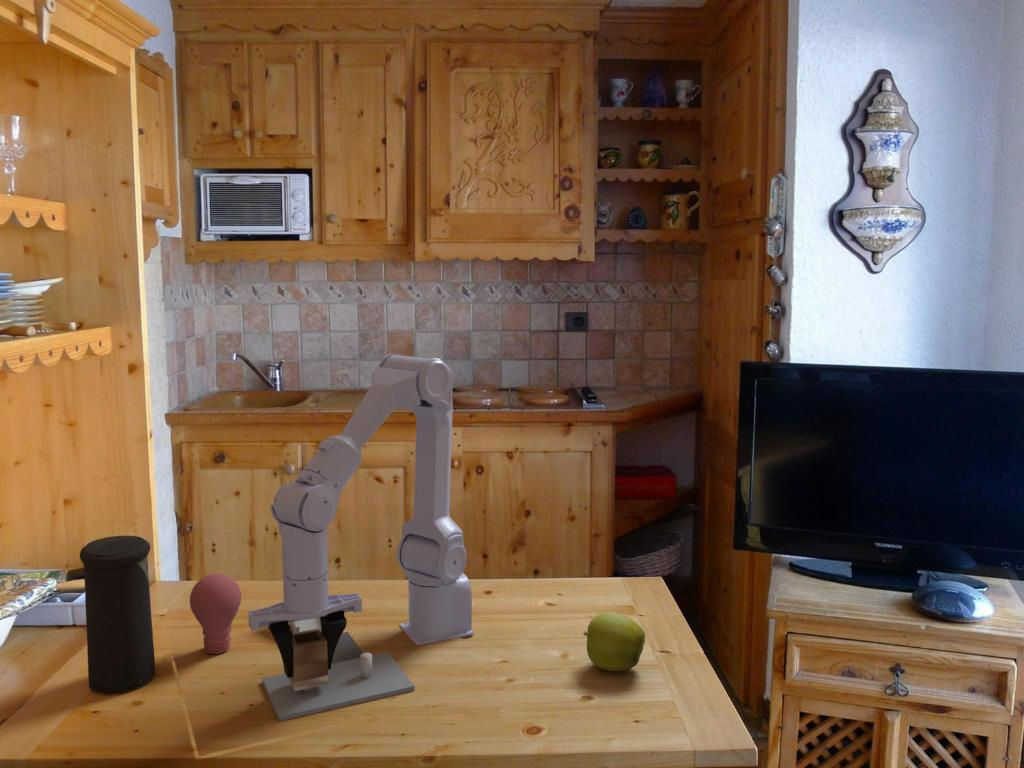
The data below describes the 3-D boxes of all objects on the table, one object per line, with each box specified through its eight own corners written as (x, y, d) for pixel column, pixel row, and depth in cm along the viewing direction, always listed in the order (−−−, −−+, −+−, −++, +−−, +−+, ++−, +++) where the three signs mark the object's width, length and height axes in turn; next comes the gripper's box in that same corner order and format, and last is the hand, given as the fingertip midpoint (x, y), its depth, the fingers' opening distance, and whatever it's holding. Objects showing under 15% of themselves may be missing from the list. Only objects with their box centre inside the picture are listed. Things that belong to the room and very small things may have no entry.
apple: (587, 651, 130) (589, 600, 128) (648, 661, 127) (650, 609, 125) (574, 674, 122) (575, 621, 121) (637, 686, 119) (639, 631, 118)
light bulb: (227, 666, 124) (224, 586, 122) (182, 661, 125) (178, 582, 123) (252, 644, 130) (249, 568, 129) (209, 640, 132) (205, 564, 130)
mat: (347, 634, 134) (347, 631, 134) (367, 661, 126) (367, 658, 125) (282, 646, 130) (282, 644, 130) (298, 675, 121) (298, 673, 121)
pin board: (388, 658, 126) (387, 632, 126) (414, 692, 117) (414, 664, 116) (262, 684, 118) (261, 657, 118) (279, 723, 109) (278, 694, 108)
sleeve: (319, 670, 119) (318, 628, 118) (328, 684, 115) (327, 640, 114) (287, 676, 117) (286, 634, 116) (294, 691, 113) (293, 647, 112)
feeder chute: (321, 613, 141) (320, 581, 140) (335, 633, 133) (334, 599, 132) (284, 620, 138) (283, 587, 137) (296, 641, 131) (295, 606, 130)
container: (171, 671, 122) (164, 534, 119) (123, 701, 114) (114, 555, 111) (122, 661, 125) (114, 527, 122) (72, 690, 116) (62, 547, 113)
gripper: (350, 555, 120) (352, 647, 122) (242, 571, 114) (246, 668, 116) (366, 571, 114) (367, 669, 116) (252, 589, 107) (256, 692, 109)
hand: (307, 670), depth 115 cm, fingers closed on sleeve, 4 cm apart
